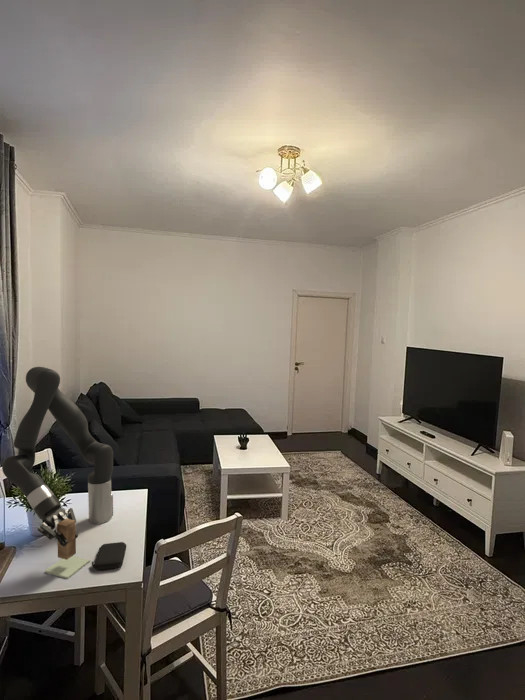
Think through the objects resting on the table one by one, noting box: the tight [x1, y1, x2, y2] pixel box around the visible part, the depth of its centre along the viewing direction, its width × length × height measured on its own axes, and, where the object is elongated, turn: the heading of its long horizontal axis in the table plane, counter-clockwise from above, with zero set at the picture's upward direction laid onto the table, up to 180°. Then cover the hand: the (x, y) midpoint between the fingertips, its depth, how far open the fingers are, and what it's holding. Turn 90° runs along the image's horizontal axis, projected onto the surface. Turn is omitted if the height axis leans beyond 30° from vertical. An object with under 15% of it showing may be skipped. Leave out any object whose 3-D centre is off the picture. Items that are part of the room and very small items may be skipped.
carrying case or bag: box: [91, 541, 127, 572], centre depth 144 cm, size 11×3×15 cm
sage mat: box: [44, 555, 91, 580], centre depth 140 cm, size 10×10×1 cm
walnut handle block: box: [57, 519, 77, 560], centre depth 139 cm, size 4×4×12 cm
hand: (71, 541), depth 138 cm, fingers closed on walnut handle block, 4 cm apart
